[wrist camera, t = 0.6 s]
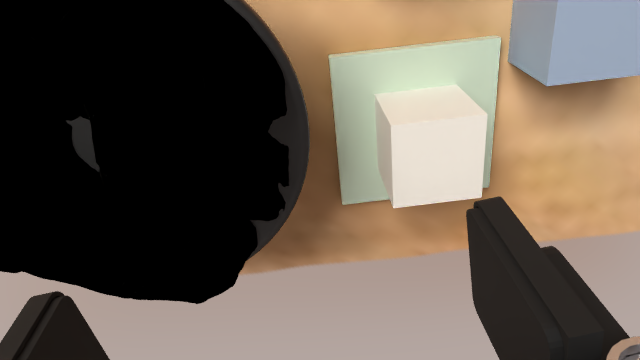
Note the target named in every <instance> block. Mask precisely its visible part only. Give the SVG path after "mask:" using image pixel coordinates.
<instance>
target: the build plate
mask: <svg viewBox="0 0 640 360" xmlns="http://www.w3.org/2000/svg"><path fill="white" fill-rule="evenodd" d="M500 44H501V37H499V36H497V35H494V36H485V37H477V38H468V39H460V40H451V41H442V42H434V43H425V44H417V45H408V46H400V47H391V48H383V49H374V50H365V51H357V52H348V53H340V54H331V55H328V56H329V67H330V79H331V90H332V101H333V112H334V123H335V134H336V145H337V156H338V168H339V179H340V190H341V200H342V205H346V204H355V203H363V202H371V201H379V200H387V199H390V198H389V196H388V193H387V190H386V188H385V185H384V183H383V180H382V177H381V175H380V172H379V170H378V162H377V141H376V119H375V97H374V94H380V93H389V92H397V91H406V90H414V89H423V88H431V87H440V86H448V85H456V84H457V85H458V86H459V87H460V88H461V89H462V90H463V91H464V92H465V93H466V94H467V95H468V96H469V97H470V98H471V99H472V100H473V101H474V102H475V103H476V104H478V105H479V106H480V107H481V108H482V109H483V110H484V111H485V112H486V113H487V114H488V116H487V130H486V144H485V157H484V171H483V185H482V188H486V187H489V181H490V169H491V156H492V144H493V131H494V119H495V107H496V94H497V82H498V69H499V57H500Z"/></svg>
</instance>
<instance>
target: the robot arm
mask: <svg viewBox="0 0 640 360" xmlns="http://www.w3.org/2000/svg"><path fill="white" fill-rule="evenodd" d="M466 217H467V230H468V243H469V256H470V267H471V280H472V294H473V301H474V305H475V308H476V311H477V314H478V316H479V318H480V320H481V322H482V324H483V326H484V328H485V330H486V332H487V335H488V336H489V338H490V341H491V343H492V345H493V347H494V349H495V351H496V353H497V355H498V357H499V359H500V360H640V337H631V338H630V337H629V336H628V335H627V333H626V332H625V331H624V330H623V328H622V327H621V326H620V325H619V324H618V323H617V321H616V320H615V319H614V318H613V316H612V315H611V314H610V313H609V312H608V310H607V309H606V308H605V307H604V305H603V304H602V303H601V302H600V301H599V299H598V298H597V297H596V296H595V294H594V293H593V292H592V291H591V289H590V288H589V287H588V286H587V284H586V283H585V282H584V281H583V279H582V278H581V277H580V276H579V275H578V273H577V272H576V271H575V270H574V268H573V267H572V266H571V265H570V264H569V262H568V261H567V260H566V259H565V257H564V256H563V255H562V254H561V253H560V252H559V250H557V249H556V248H555V247H553V246H549V247H544V248H540V247H539V245H538V244H537V243H536V241H535V240H534V239H533V237H532V236H531V235H530V233H529V232H528V231H527V230H526V228H525V227H524V226H523V224H522V223H521V222H520V220H519V219H518V218H517V217H516V215H515V214H514V213H513V211H512V210H511V209H510V207H509V206H508V205H507V204H506V202H505V201H504V200H503V199H502V198H501V197H494V198H489V199H485V200H480V201H476V202H474V209H469V210H467V212H466ZM0 360H110V359H109V358H108V356H107V355H106V353H105V351H104V350H103V348H102V346H101V345H100V343H99V342H98V340H97V339H96V337H95V336H94V334H93V332H92V330H91V329H90V327H89V325H88V324H87V322H86V321H85V319H84V317H83V316H82V314H81V313H80V311H79V309H78V308H77V306H76V304H75V303H74V301H73V300H72V299H71V298H70V297H69V296H64V294H63V293H61V292H52V293H46V294H42V295H37V296H33V297H31V298H30V299H29V300H28V302H27V303H26V305H25V306H24V308H23V309H22V311H21V312H20V314H19V315H18V317H17V318H16V320H15V321H14V323H13V324H12V326H11V327H10V329H9V330H8V332H7V333H6V335H5V336H4V338H3V340H2V341H1V343H0Z"/></svg>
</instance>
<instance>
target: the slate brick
mask: <svg viewBox="0 0 640 360" xmlns="http://www.w3.org/2000/svg"><path fill="white" fill-rule="evenodd" d="M508 62H510V63H511V64H513V65H514V66H516V67H517V68H519V69H521V70H522V71H524V72H525V73H527V74H528V75H530V76H531V77H533V78H535V79H536V80H538V81H539V82H541V83H542V84H544V85H546V86H553V85H561V84H570V83H578V82H586V81H595V80H603V79H612V78H620V77H629V76H637V75H640V0H513V7H512V19H511V30H510V41H509V52H508Z"/></svg>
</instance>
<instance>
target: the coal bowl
mask: <svg viewBox="0 0 640 360" xmlns="http://www.w3.org/2000/svg"><path fill="white" fill-rule="evenodd" d="M309 148H310V136H309V122H308V115H307V109H306V105H305V101H304V97H303V93H302V90H301V87H300V85H299V82H298V79H297V76H296V74H295V71H294V69H293V67H292V65H291V63H290V61H289V58H288V57H287V55H286V53H285V51H284V50H283V48H282V46H281V45H280V43H279V41H278V40H277V38H276V37H275V35H274V34H273V33H272V31H271V30H270V29H269V27H268V26H267V24H266V23H265V22H264V21H263V20H262V19H261V17H260V16H259V15H258V14H257V13H256V12H255V11H254V9H253V8H252V7H251V6H250V5H248V4H247V3H246V2H245V1H244V0H0V271H2V272H9V273H18V272H21V271H22V272H26V273H29V274H31V275H34V276H37V277H40V278H43V279H48V280H55V281H59V282H64V283H68V284H72V285H77V286H81V287H84V288H87V289H89V290H93V291H95V292H99V293H103V294H106V295H112V296H118V297H121V298H132V299H136V300H169V301H183V302H189V303H196V304H199V303H202V302H205V301H206V300H208V299H210V298H212V297H214V296H217V295H219V294H221V293H223V292H224V291H226V290H228V289H229V288H230V287H233V286H234V284H235V282H236V280H237V277H238V274H239V273H240V271H241V270H242V268H243V266H244V264H245V262H246V261H247V260H248V259H249V258H251V257H252V256H253V255H255V254H256V253H257V252H259V251H260V250H261V249H262V248H263V247H264V246H265V245H266V244H267V243H268V242H269V241H270V240H271V239H272V238H273V237H274V236H275V234H276V233H277V232H278V231H279V230H280V228H281V227H282V225H283V224H284V223H285V221H286V220H287V218H288V216H289V215H290V213H291V211H292V209H293V208H294V206H295V204H296V201H297V199H298V197H299V194H300V192H301V189H302V186H303V183H304V180H305V176H306V171H307V166H308V160H309Z"/></svg>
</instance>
